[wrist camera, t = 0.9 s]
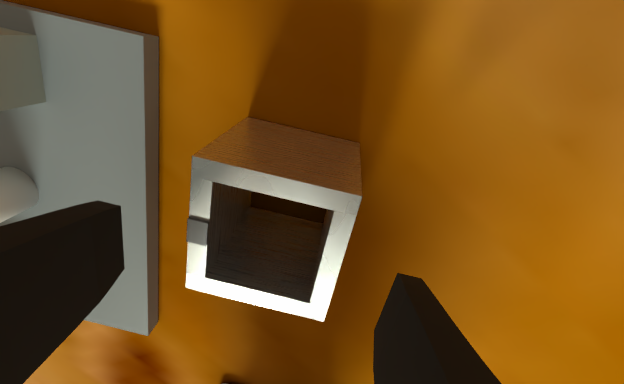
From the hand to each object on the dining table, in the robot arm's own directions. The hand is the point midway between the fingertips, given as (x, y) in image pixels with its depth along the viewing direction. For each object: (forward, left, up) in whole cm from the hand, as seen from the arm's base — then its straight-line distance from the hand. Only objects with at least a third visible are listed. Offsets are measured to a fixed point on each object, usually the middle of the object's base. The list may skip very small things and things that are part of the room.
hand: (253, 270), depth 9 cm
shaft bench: (-3, +12, -6) cm, 14 cm away
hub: (0, 0, -6) cm, 6 cm away
